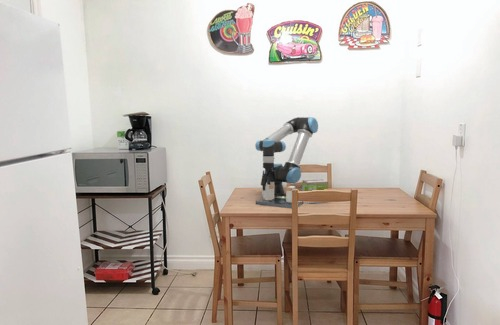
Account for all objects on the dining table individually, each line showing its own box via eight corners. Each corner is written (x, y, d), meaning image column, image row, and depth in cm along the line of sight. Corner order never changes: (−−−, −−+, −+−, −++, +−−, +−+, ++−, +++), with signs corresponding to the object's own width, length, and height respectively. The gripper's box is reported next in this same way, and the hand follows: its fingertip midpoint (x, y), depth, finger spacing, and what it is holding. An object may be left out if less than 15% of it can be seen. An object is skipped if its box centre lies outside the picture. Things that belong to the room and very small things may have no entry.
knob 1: (262, 199, 241) (261, 184, 240) (267, 198, 244) (267, 183, 243) (269, 201, 235) (269, 186, 233) (275, 200, 237) (275, 185, 236)
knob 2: (289, 200, 237) (289, 185, 236) (296, 201, 235) (296, 185, 234) (284, 203, 230) (284, 187, 228) (292, 203, 228) (292, 188, 226)
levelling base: (265, 199, 250) (265, 193, 249) (302, 203, 237) (303, 197, 237) (255, 204, 235) (255, 198, 235) (295, 208, 223) (295, 202, 223)
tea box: (308, 204, 235) (308, 182, 233) (301, 200, 245) (302, 179, 243) (328, 202, 239) (328, 181, 237) (321, 199, 249) (321, 178, 247)
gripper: (266, 164, 223) (266, 197, 226) (280, 160, 246) (280, 190, 248) (255, 164, 227) (255, 196, 229) (270, 159, 249) (270, 189, 252)
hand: (268, 193), depth 239 cm, fingers open, 13 cm apart
